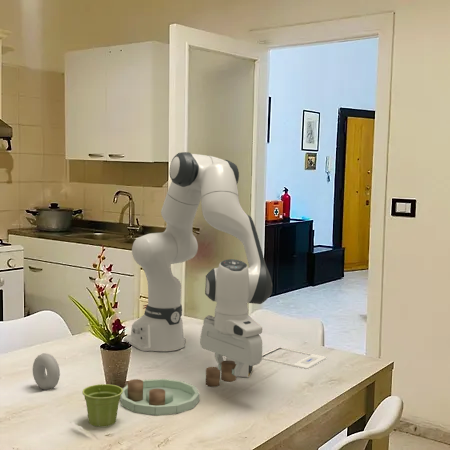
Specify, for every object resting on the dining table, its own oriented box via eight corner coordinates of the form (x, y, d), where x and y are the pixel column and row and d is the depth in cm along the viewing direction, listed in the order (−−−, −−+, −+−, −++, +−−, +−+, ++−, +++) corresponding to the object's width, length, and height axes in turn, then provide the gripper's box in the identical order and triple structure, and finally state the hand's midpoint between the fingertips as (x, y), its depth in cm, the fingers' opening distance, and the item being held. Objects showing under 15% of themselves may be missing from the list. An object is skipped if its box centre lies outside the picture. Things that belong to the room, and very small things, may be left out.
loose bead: (217, 378, 173) (218, 362, 172) (228, 375, 176) (229, 359, 175) (228, 382, 170) (229, 366, 170) (238, 379, 173) (239, 363, 172)
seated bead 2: (145, 408, 163) (146, 391, 162) (158, 404, 166) (158, 387, 165) (155, 413, 160) (156, 395, 159) (168, 409, 163) (168, 391, 162)
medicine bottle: (248, 377, 192) (250, 338, 190) (225, 375, 193) (226, 336, 192) (252, 370, 199) (254, 332, 197) (229, 368, 200) (231, 330, 199)
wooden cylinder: (202, 384, 185) (203, 368, 185) (212, 380, 188) (213, 365, 188) (212, 387, 183) (212, 372, 182) (222, 384, 185) (222, 369, 185)
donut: (62, 392, 175) (62, 356, 174) (51, 395, 173) (51, 359, 172) (40, 383, 182) (40, 348, 180) (29, 386, 179) (29, 351, 178)
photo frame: (307, 367, 201) (257, 356, 211) (307, 371, 201) (257, 359, 211) (327, 356, 213) (278, 346, 223) (327, 359, 213) (278, 349, 223)
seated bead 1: (124, 398, 169) (124, 381, 169) (136, 394, 172) (137, 378, 171) (133, 402, 166) (133, 385, 166) (146, 399, 169) (146, 382, 169)
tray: (105, 402, 169) (105, 390, 169) (164, 385, 183) (165, 374, 183) (153, 426, 155) (153, 413, 155) (213, 405, 169) (214, 393, 169)
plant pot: (84, 418, 159) (85, 383, 158) (123, 418, 160) (124, 383, 159) (79, 434, 149) (79, 397, 149) (120, 434, 150) (121, 397, 149)
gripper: (195, 315, 176) (193, 364, 178) (250, 332, 162) (247, 386, 163) (212, 312, 181) (210, 360, 182) (267, 328, 166) (264, 380, 168)
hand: (228, 372), depth 173 cm, fingers closed on loose bead, 4 cm apart
